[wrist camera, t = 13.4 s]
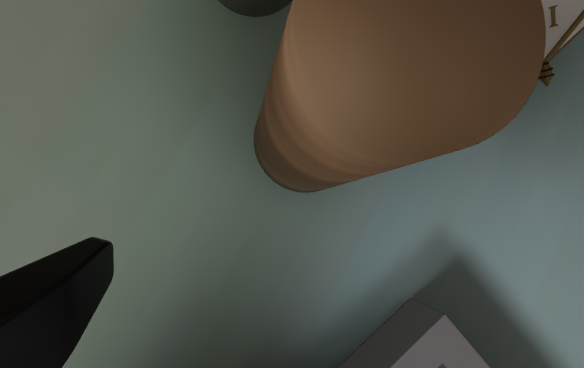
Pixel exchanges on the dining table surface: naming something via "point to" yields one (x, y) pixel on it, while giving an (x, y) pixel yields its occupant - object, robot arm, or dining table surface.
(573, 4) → the grey faceted polyhedron
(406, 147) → the walnut pawn
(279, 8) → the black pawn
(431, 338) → the box
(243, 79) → the dining table surface
